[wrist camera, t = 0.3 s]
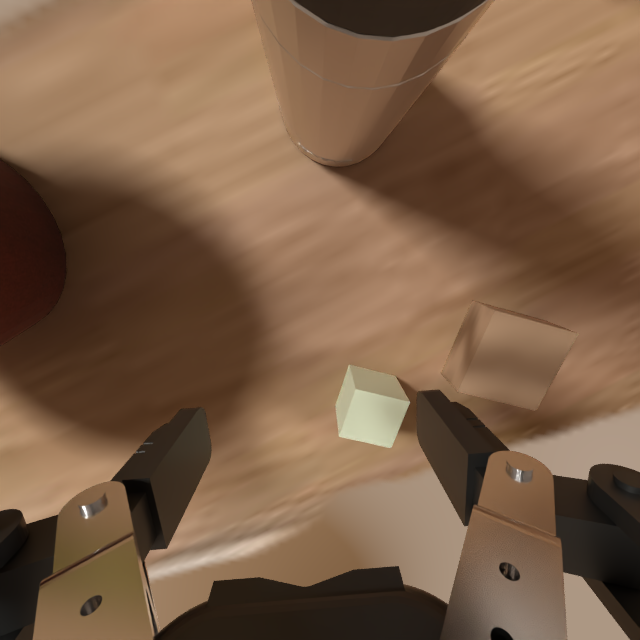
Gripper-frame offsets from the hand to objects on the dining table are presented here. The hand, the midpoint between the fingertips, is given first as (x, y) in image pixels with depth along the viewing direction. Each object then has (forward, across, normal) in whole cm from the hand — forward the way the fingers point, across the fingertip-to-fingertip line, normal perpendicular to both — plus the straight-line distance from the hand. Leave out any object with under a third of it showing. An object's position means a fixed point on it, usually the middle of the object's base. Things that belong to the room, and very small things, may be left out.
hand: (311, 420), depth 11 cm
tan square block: (+18, -18, +5) cm, 26 cm away
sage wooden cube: (+18, -5, +9) cm, 21 cm away
